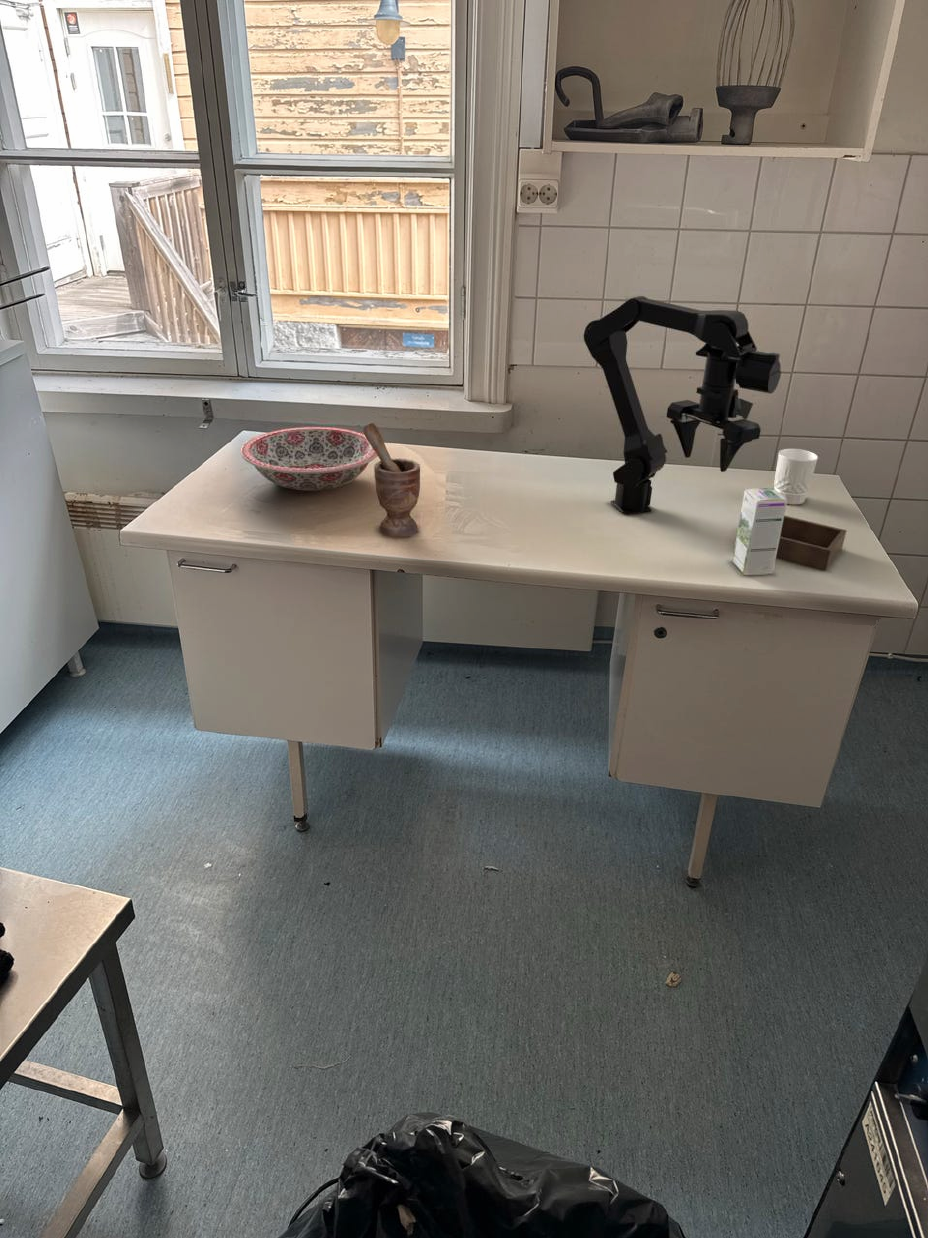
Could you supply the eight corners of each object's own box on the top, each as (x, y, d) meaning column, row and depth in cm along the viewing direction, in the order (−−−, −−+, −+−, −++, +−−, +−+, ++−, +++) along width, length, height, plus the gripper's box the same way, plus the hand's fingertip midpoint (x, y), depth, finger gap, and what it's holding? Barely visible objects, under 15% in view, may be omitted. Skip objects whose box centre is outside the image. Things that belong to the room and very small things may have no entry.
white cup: (807, 495, 197) (818, 451, 193) (807, 508, 191) (817, 462, 186) (770, 490, 200) (779, 446, 195) (768, 502, 193) (778, 457, 188)
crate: (741, 548, 172) (745, 529, 170) (761, 529, 180) (765, 510, 178) (825, 570, 164) (830, 550, 162) (841, 549, 173) (846, 530, 171)
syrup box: (773, 574, 162) (790, 499, 155) (742, 576, 161) (757, 499, 154) (760, 561, 167) (775, 487, 160) (729, 562, 166) (744, 487, 159)
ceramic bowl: (218, 479, 196) (214, 443, 192) (330, 452, 213) (328, 418, 209) (292, 520, 177) (290, 481, 173) (408, 487, 195) (408, 451, 191)
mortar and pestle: (354, 534, 172) (351, 432, 163) (368, 517, 180) (366, 418, 170) (413, 541, 170) (413, 438, 161) (424, 523, 178) (425, 424, 168)
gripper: (788, 389, 164) (771, 471, 171) (711, 367, 177) (698, 444, 185) (746, 397, 158) (731, 482, 166) (670, 373, 172) (659, 452, 179)
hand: (705, 464), depth 174 cm, fingers open, 9 cm apart
